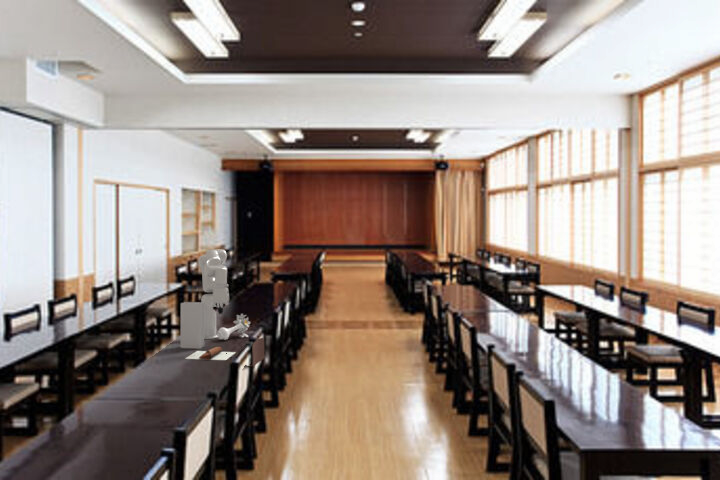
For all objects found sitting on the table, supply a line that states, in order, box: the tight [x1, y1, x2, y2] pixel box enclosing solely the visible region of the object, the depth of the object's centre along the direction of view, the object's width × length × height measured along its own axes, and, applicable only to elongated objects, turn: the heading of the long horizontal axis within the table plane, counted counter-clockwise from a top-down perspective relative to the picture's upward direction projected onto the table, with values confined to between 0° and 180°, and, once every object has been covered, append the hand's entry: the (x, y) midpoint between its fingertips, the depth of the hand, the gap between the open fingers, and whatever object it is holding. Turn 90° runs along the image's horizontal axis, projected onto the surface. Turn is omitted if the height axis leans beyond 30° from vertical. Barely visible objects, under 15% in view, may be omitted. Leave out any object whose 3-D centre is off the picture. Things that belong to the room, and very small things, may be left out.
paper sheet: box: [184, 350, 236, 361], centre depth 352 cm, size 20×26×1 cm
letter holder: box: [237, 337, 265, 367], centre depth 337 cm, size 10×20×14 cm, turn 170°
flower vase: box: [216, 313, 251, 341], centre depth 402 cm, size 13×18×25 cm
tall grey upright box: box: [180, 301, 205, 350], centre depth 372 cm, size 14×6×30 cm, turn 84°
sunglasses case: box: [199, 346, 223, 361], centre depth 350 cm, size 18×7×7 cm
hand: (220, 313), depth 368 cm, fingers closed
